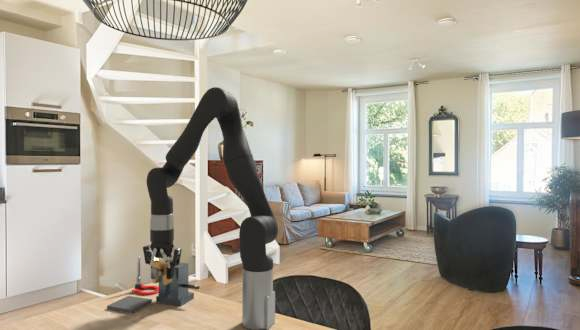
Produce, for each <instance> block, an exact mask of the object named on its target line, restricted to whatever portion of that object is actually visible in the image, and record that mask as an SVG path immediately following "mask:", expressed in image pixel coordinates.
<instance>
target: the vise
mask: <svg viewBox="0 0 580 330" xmlns="http://www.w3.org/2000/svg"><path fill="white" fill-rule="evenodd" d="M160 276H161V281H160V282H158V287H159V293H158V295H156V298H155V300H156V301H155V302H156V303H159V304H164V303H165V304H166V305H170V304H172V305H171V306H179V307H182V306H183V305H185V304H187V303H188V302H190V301H192V300H193V299H195V293H194V292H193V291H192V292H191V291H189V289H193V290H199V289H200V285H195V284H189V263H188V262H180V263H179V265H177V266H175V267H174V276H173V278H172V282H171V283H169V284H167V285H164V284H163V269H161V270H159V271H158V268H156V267H152V268H151V267H150V279H152V280H153V279H158V277H160ZM165 304H164V305H165Z"/></svg>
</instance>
